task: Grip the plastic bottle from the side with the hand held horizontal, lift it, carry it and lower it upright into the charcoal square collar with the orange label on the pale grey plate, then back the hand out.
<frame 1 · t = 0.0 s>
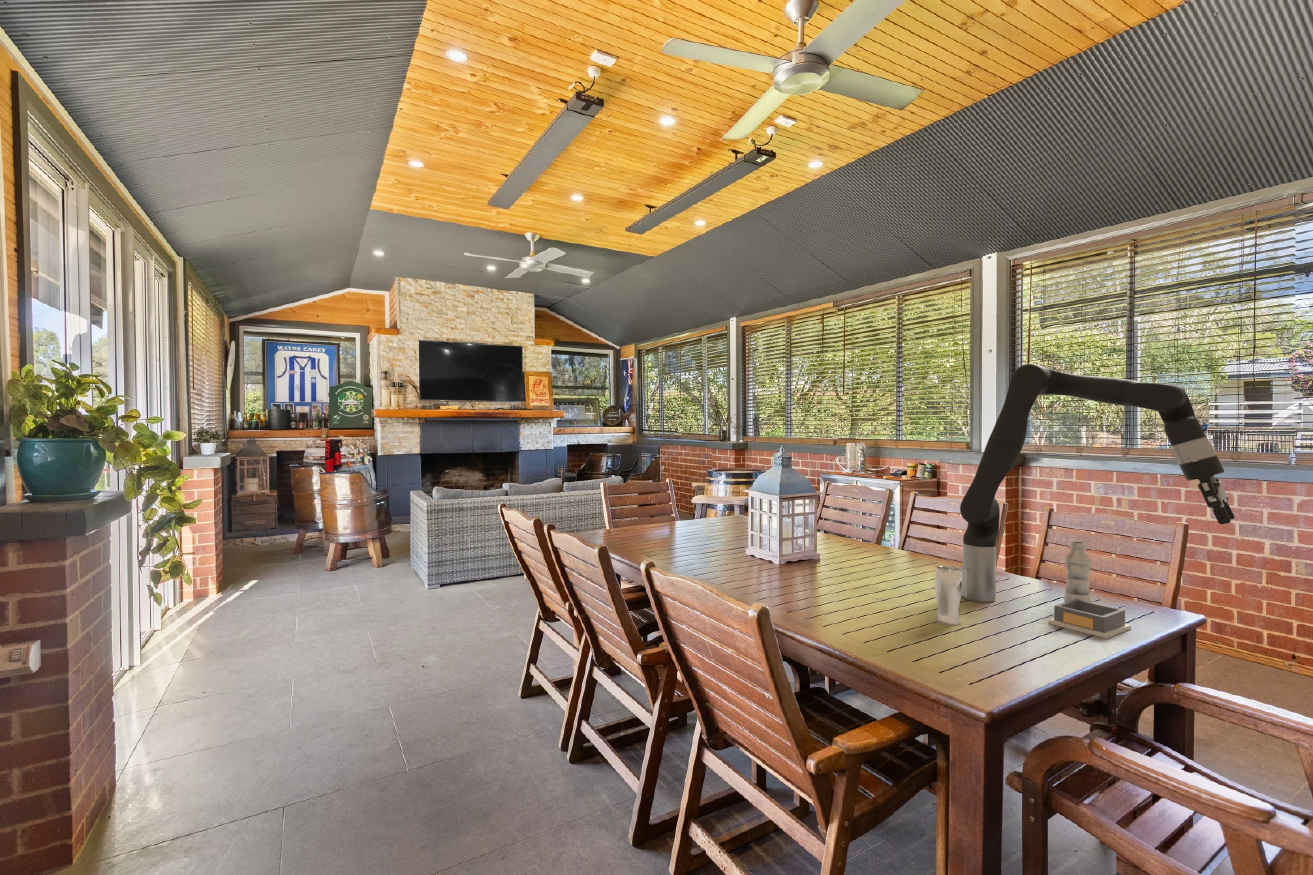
hand: (1227, 521, 146), 31 cm above the table, tool tilted 20°, fingers open, 8 cm apart
plastic bottle: (1077, 609, 179), on the table
beer glass: (948, 622, 168), on the table
labelled socket: (1089, 625, 164), on the table
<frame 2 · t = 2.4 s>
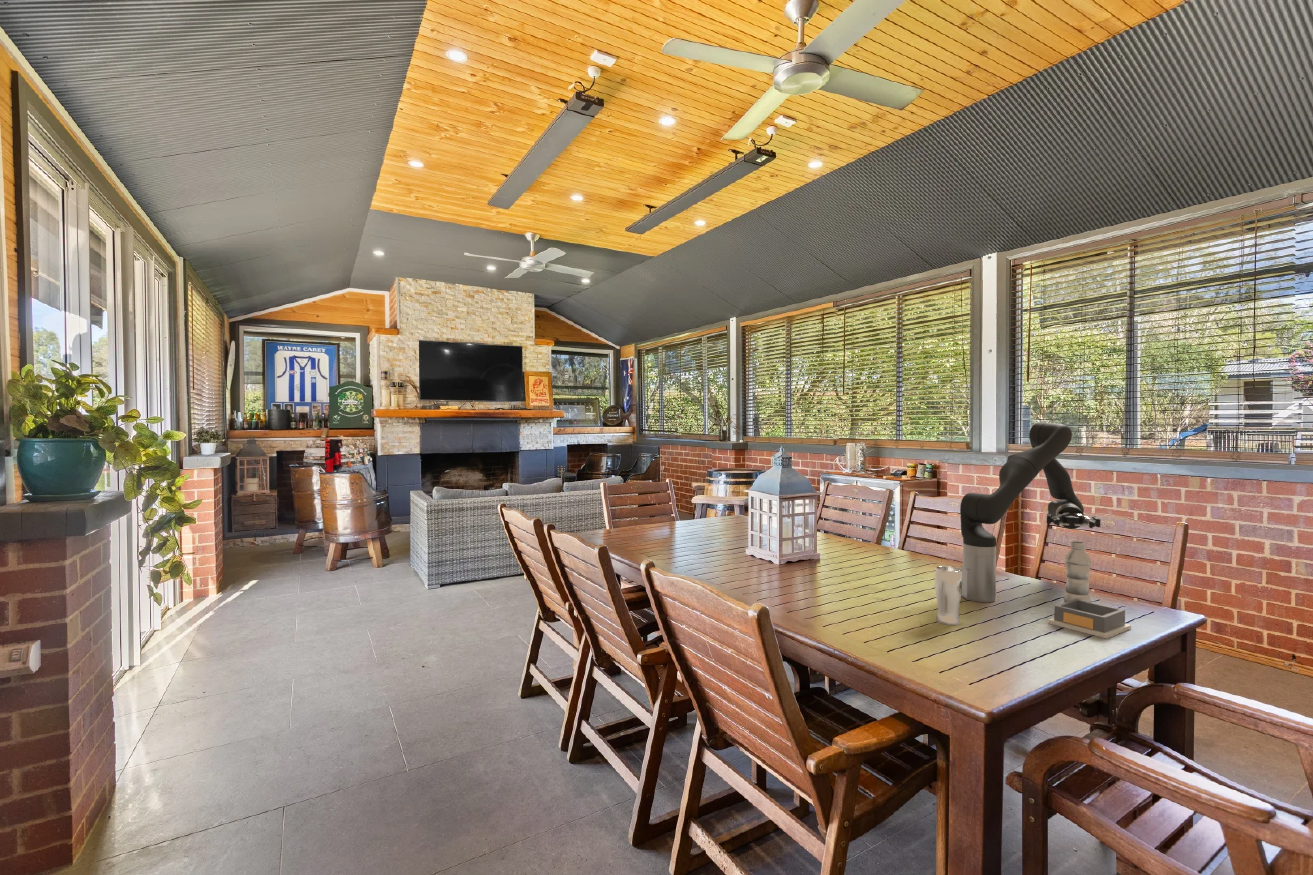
hand: (1074, 523, 188), 24 cm above the table, tool horizontal, fingers open, 8 cm apart
nothing on the table moved.
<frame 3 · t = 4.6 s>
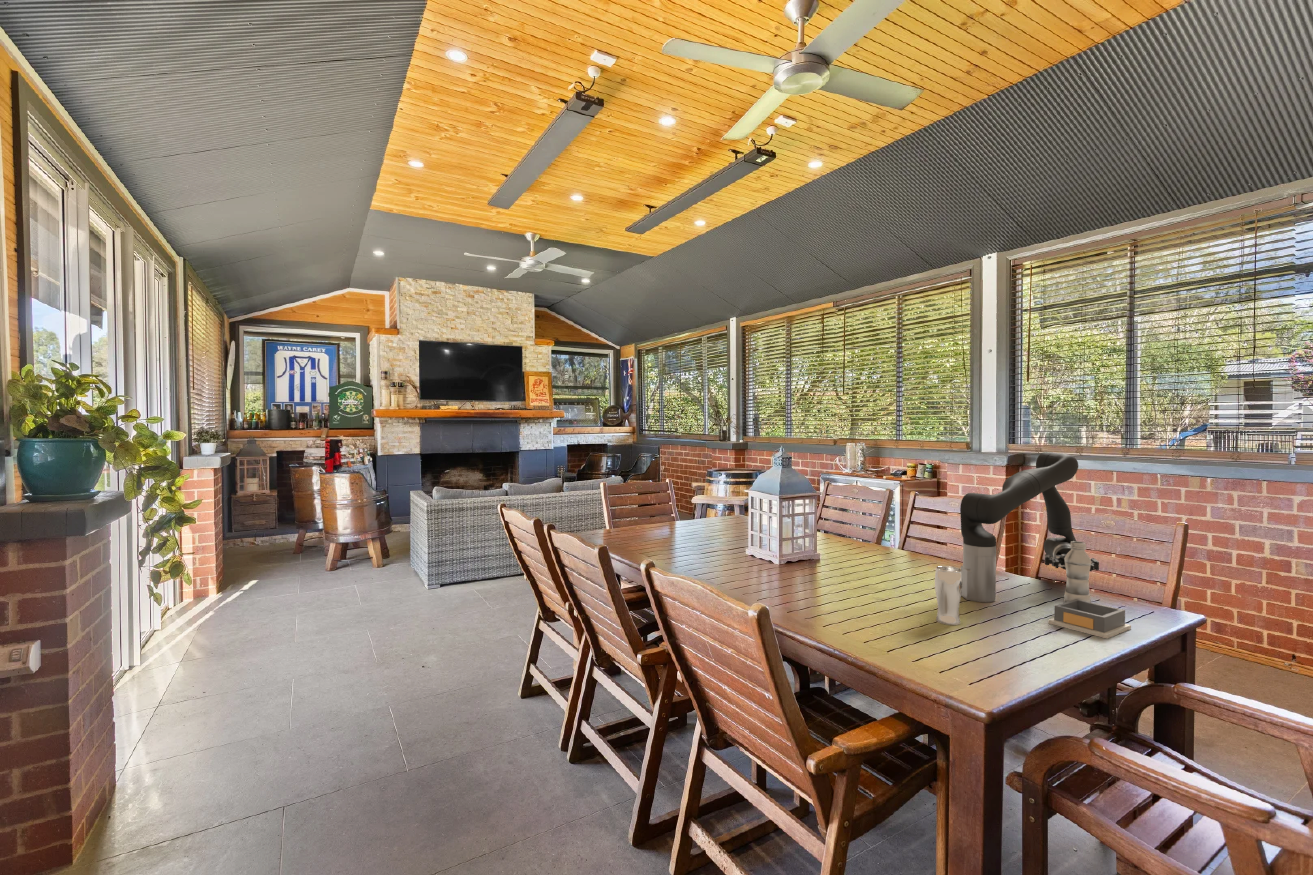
hand: (1073, 566, 186), 11 cm above the table, tool horizontal, fingers open, 8 cm apart
nothing on the table moved.
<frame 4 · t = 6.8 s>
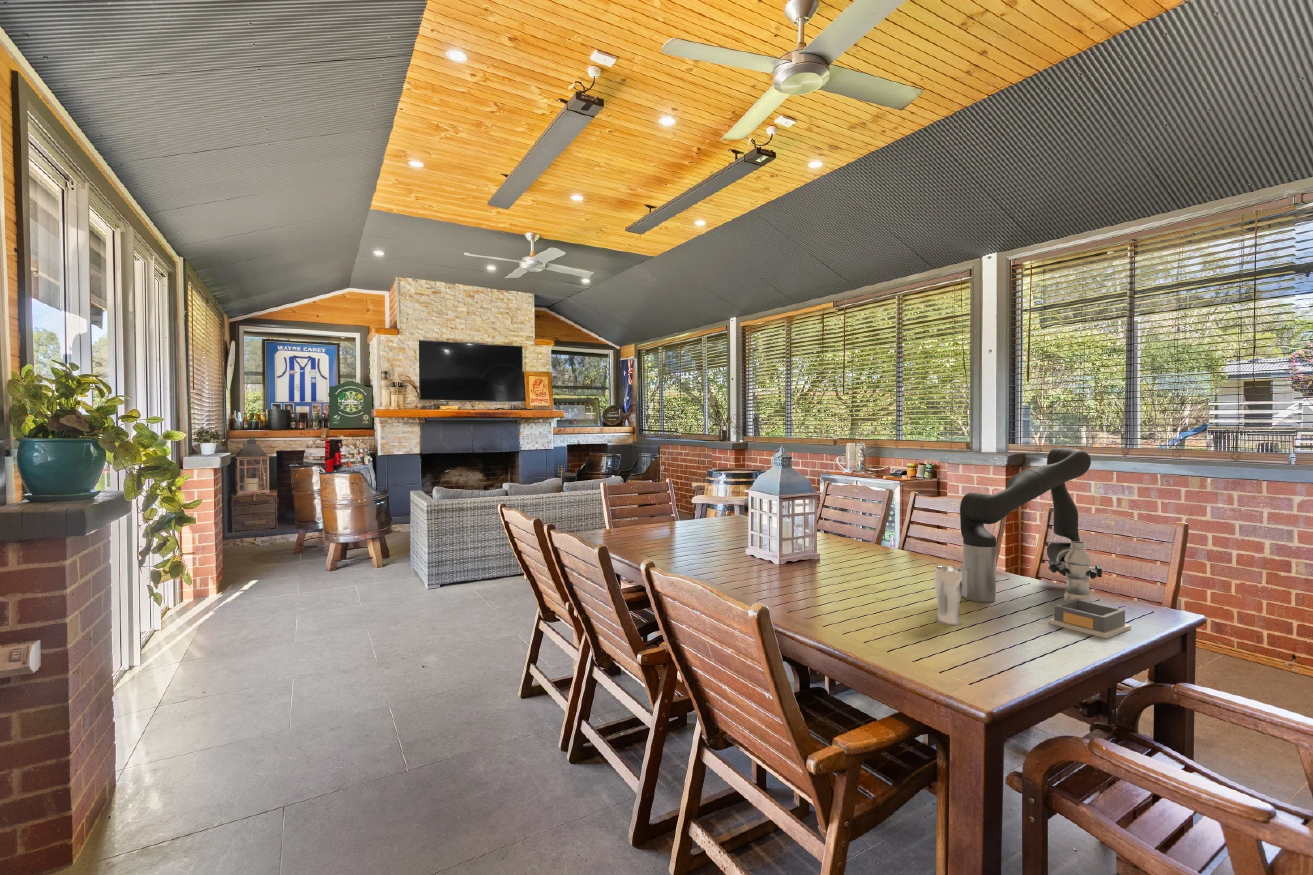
hand: (1078, 573, 177), 11 cm above the table, tool horizontal, fingers closed on plastic bottle, 6 cm apart
plastic bottle: (1077, 609, 179), on the table, touching gripper
everything else where it was.
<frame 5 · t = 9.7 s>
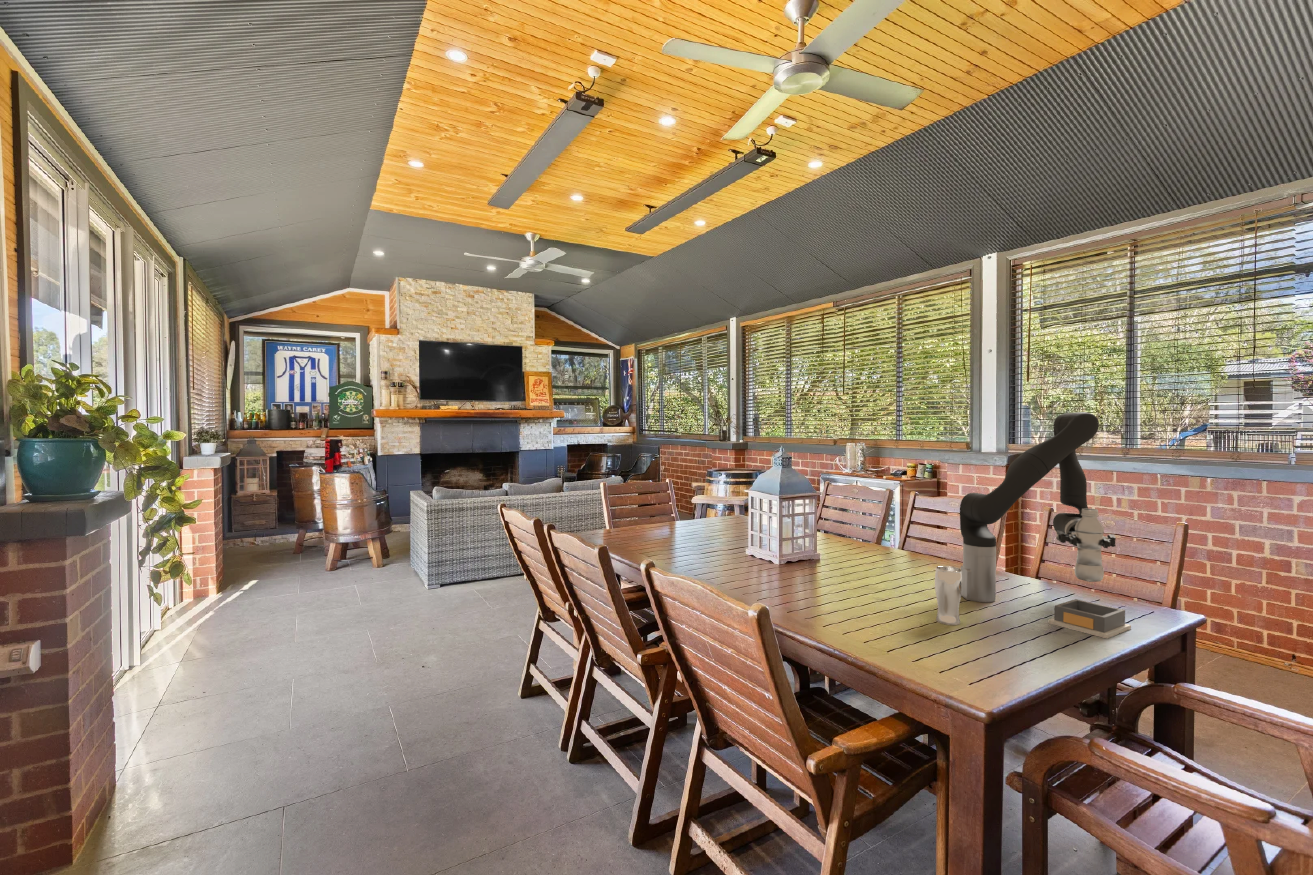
hand: (1090, 543, 164), 23 cm above the table, tool horizontal, fingers closed on plastic bottle, 6 cm apart
plastic bottle: (1088, 581, 166), point 12 cm above the table, touching gripper
everything else where it was.
when the fingers open (13 cm above the table, at t = 12.4 s): plastic bottle drops 1 cm, resting on labelled socket.
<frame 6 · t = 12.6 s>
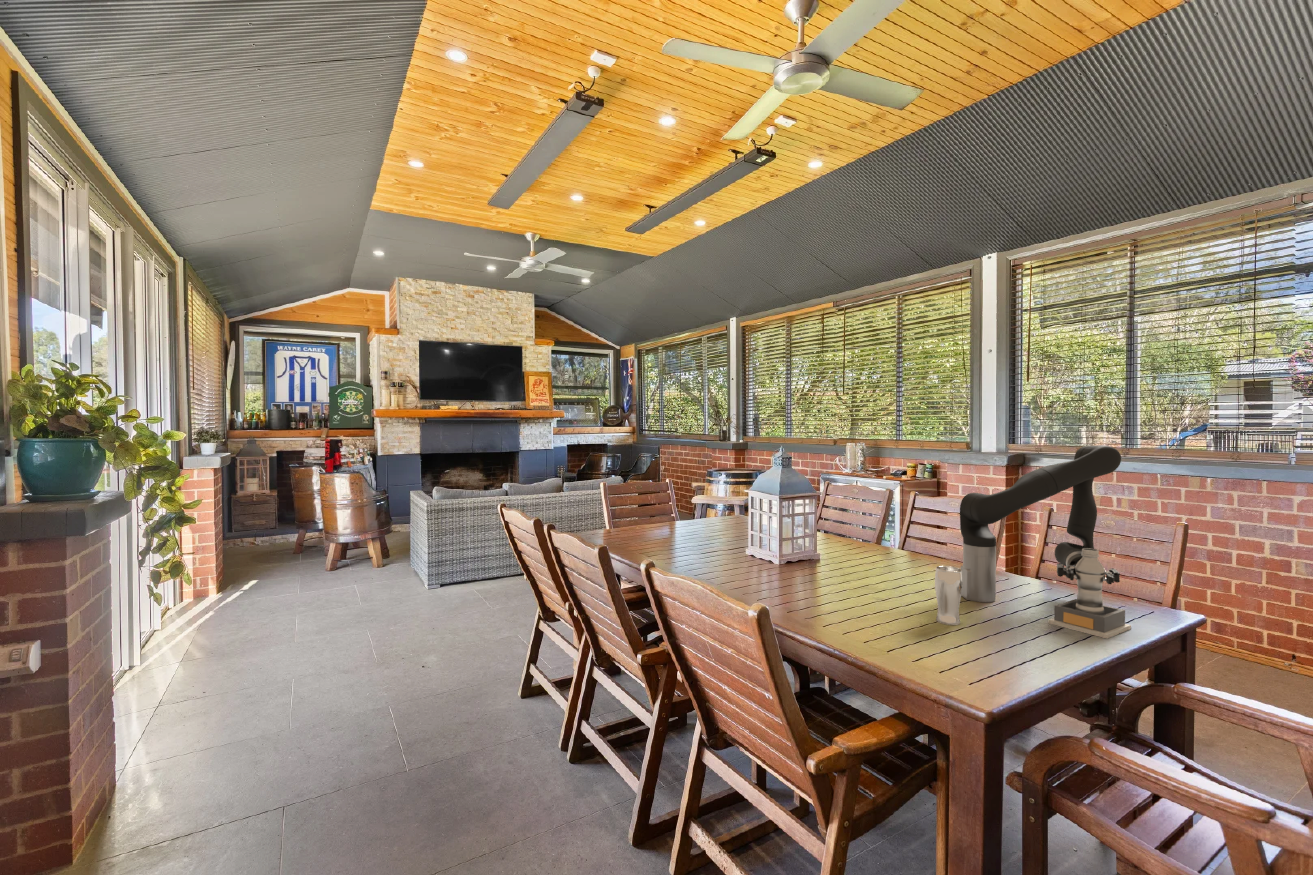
hand: (1091, 578, 162), 13 cm above the table, tool horizontal, fingers open, 8 cm apart
plastic bottle: (1089, 622, 164), point 1 cm above the table, touching labelled socket
everything else where it was.
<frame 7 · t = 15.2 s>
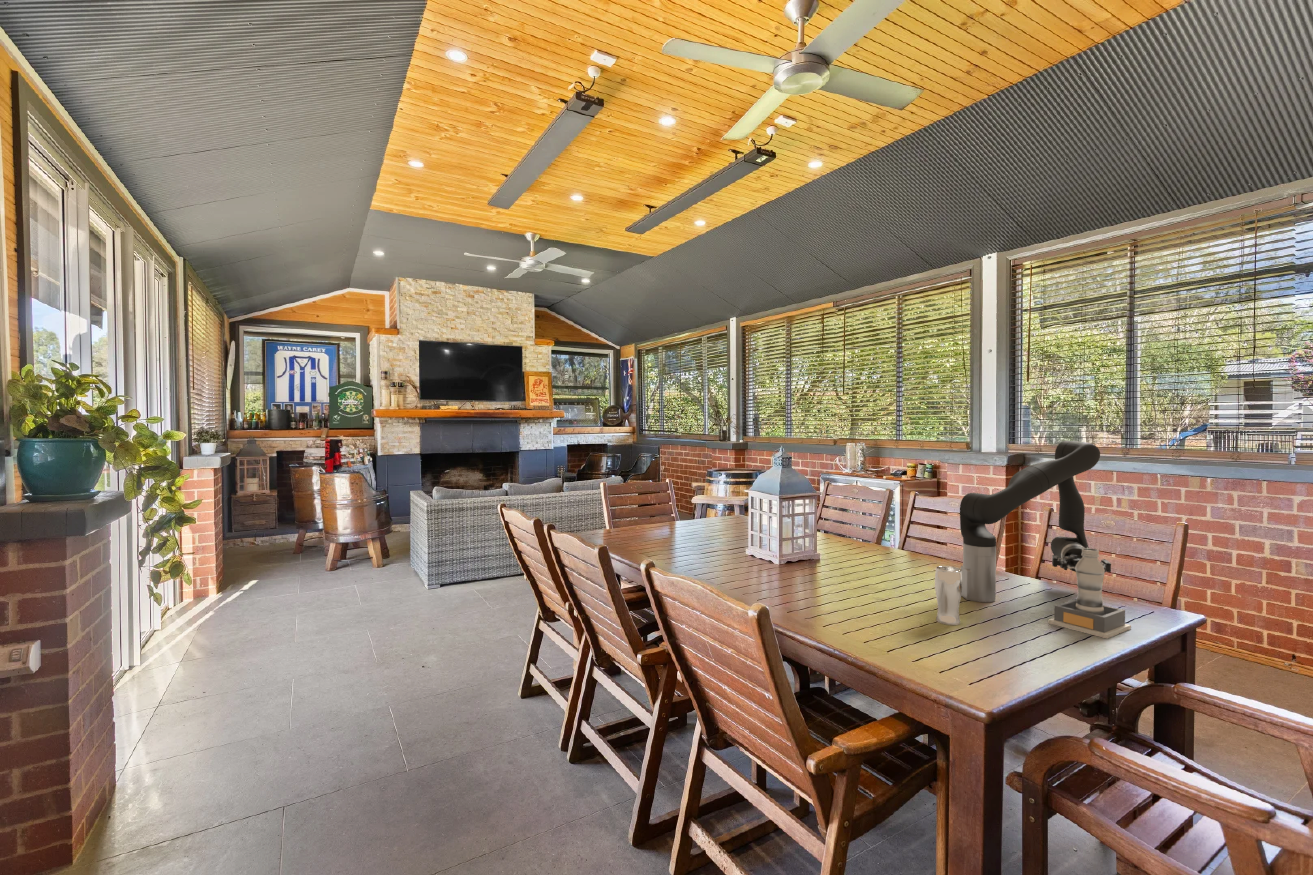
hand: (1083, 568, 173), 13 cm above the table, tool horizontal, fingers open, 8 cm apart
nothing on the table moved.
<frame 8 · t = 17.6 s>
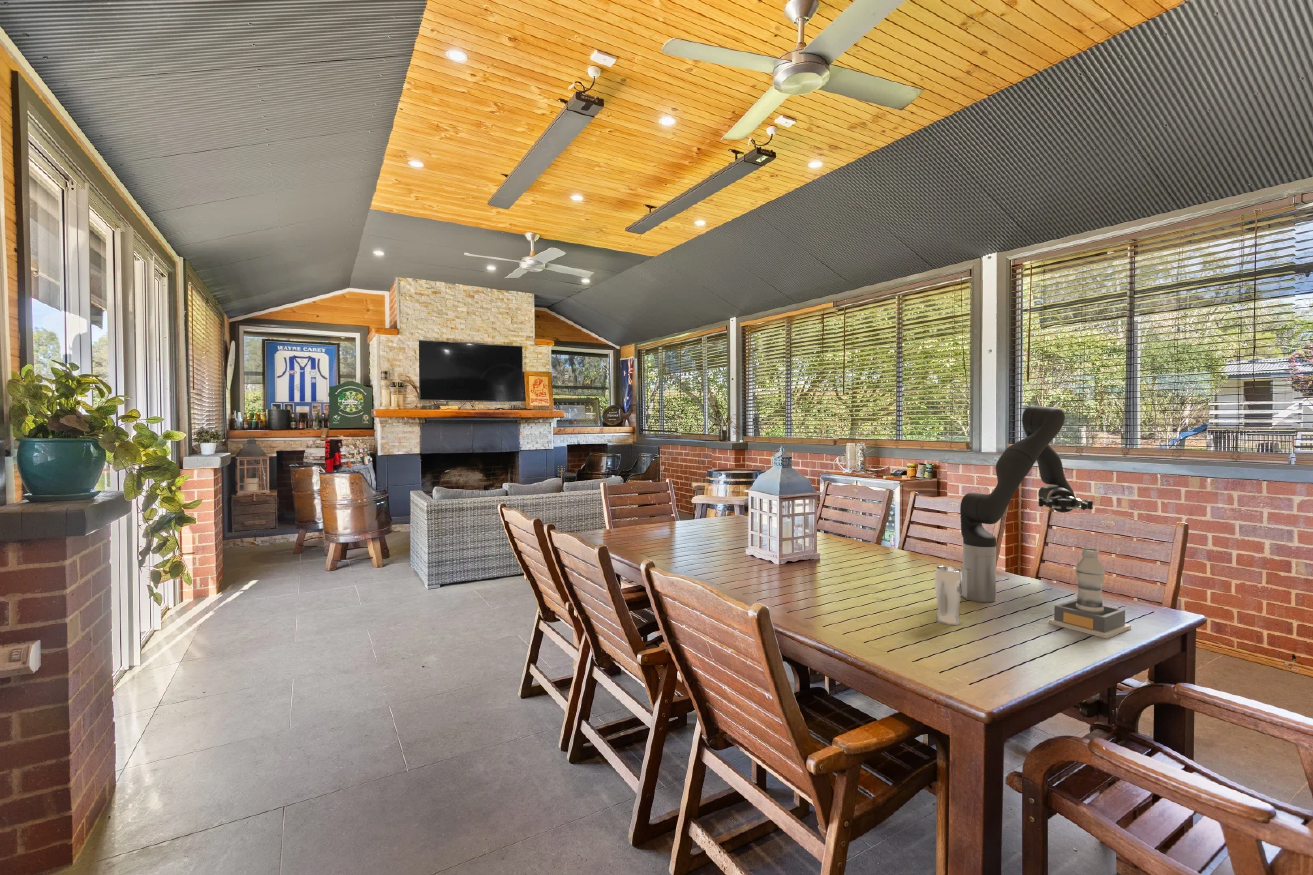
hand: (1067, 505, 185), 30 cm above the table, tool horizontal, fingers open, 8 cm apart
nothing on the table moved.
at the end: plastic bottle 0.2 cm off-centre on the labelled socket, point 0.8 cm above the labelled socket's base; plastic bottle tilted 0°; the gripper is holding nothing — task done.
